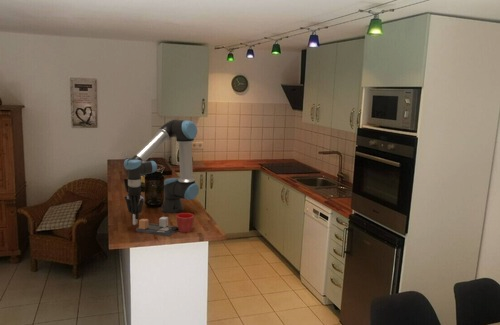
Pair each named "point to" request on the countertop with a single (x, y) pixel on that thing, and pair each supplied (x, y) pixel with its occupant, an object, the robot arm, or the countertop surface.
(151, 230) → the console
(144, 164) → the robot arm
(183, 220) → the flower pot
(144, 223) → the fader
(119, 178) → the countertop surface
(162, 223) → the fader
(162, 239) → the countertop surface
